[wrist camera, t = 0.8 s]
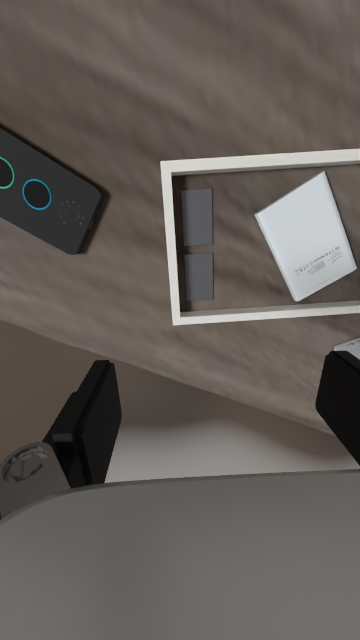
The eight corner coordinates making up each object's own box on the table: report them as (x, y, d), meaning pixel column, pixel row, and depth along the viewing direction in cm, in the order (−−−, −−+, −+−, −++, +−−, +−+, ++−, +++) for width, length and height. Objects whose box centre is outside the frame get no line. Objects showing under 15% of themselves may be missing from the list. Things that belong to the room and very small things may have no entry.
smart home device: (73, 258, 28) (-117, 155, 24) (79, 257, 30) (-99, 159, 26) (102, 190, 26) (-105, 61, 21) (107, 192, 27) (-85, 72, 23)
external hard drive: (317, 173, 27) (350, 266, 31) (252, 214, 29) (291, 298, 33) (325, 169, 26) (359, 268, 30) (257, 213, 27) (297, 302, 31)
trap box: (161, 165, 26) (159, 157, 23) (462, 146, 26) (503, 135, 23) (172, 319, 33) (173, 330, 29) (413, 303, 33) (439, 312, 30)
